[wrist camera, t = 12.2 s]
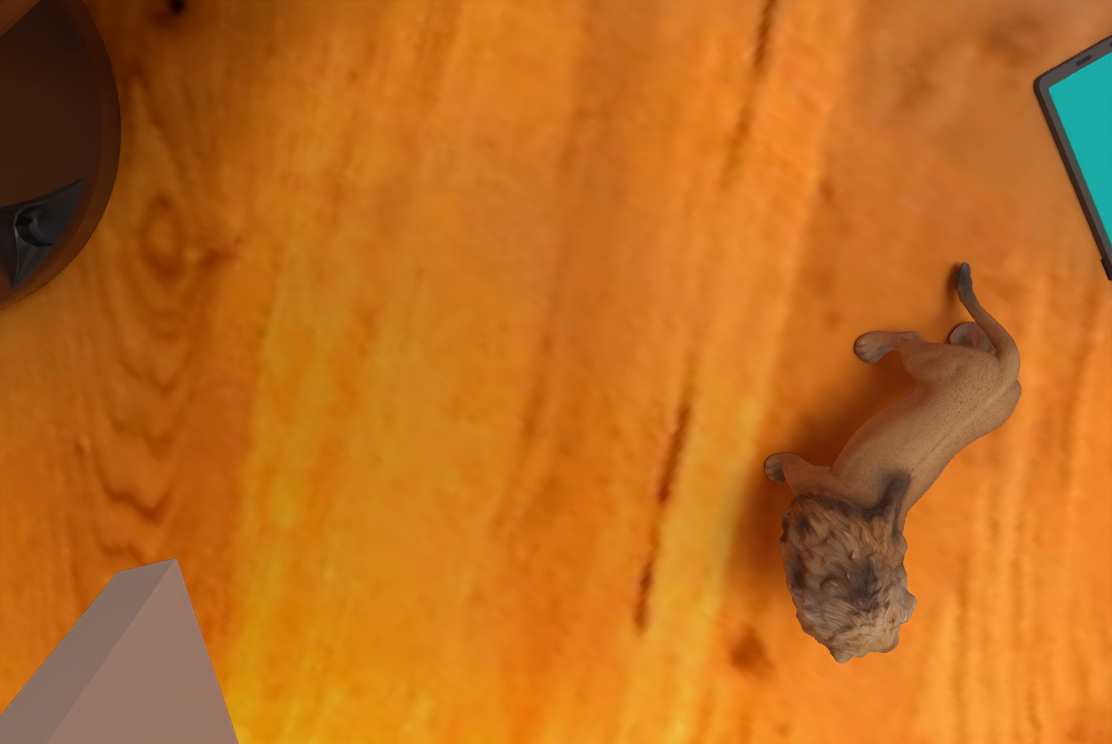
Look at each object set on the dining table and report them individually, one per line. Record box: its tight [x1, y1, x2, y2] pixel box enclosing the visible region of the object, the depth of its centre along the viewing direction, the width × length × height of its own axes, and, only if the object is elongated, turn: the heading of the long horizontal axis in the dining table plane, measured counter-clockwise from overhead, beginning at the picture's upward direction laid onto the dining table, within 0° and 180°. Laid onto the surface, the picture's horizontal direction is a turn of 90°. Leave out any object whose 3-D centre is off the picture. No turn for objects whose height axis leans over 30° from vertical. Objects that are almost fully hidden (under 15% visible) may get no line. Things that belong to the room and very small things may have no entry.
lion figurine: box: [765, 262, 1022, 663], centre depth 36 cm, size 15×5×9 cm, turn 151°
